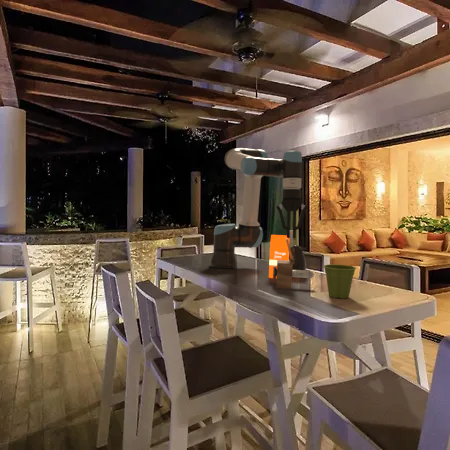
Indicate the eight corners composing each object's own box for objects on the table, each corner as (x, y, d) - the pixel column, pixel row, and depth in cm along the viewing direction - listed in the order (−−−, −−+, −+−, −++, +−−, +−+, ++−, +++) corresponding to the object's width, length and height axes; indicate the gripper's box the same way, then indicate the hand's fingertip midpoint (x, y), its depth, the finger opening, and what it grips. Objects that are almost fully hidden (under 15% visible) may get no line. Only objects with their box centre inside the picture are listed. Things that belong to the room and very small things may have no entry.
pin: (273, 277, 153) (273, 265, 152) (313, 279, 150) (313, 267, 150) (272, 279, 148) (273, 267, 147) (314, 282, 145) (314, 269, 145)
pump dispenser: (300, 279, 167) (301, 246, 167) (280, 276, 173) (281, 244, 173) (309, 276, 175) (310, 245, 175) (290, 273, 182) (291, 243, 181)
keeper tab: (285, 238, 153) (287, 238, 153) (290, 260, 153) (293, 260, 153) (285, 240, 145) (288, 239, 145) (291, 263, 145) (294, 262, 145)
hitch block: (276, 283, 155) (277, 255, 155) (292, 284, 154) (293, 256, 154) (276, 288, 145) (277, 258, 144) (293, 289, 144) (294, 259, 143)
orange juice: (287, 279, 166) (289, 236, 165) (268, 277, 168) (270, 235, 167) (288, 276, 174) (289, 235, 173) (269, 275, 175) (271, 234, 175)
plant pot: (329, 291, 142) (330, 263, 142) (359, 296, 135) (361, 266, 134) (316, 296, 133) (317, 266, 133) (348, 302, 125) (349, 270, 125)
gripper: (276, 188, 145) (275, 246, 146) (308, 188, 143) (307, 247, 144) (276, 189, 153) (275, 244, 153) (307, 189, 151) (305, 245, 152)
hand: (290, 246), depth 149 cm, fingers closed
